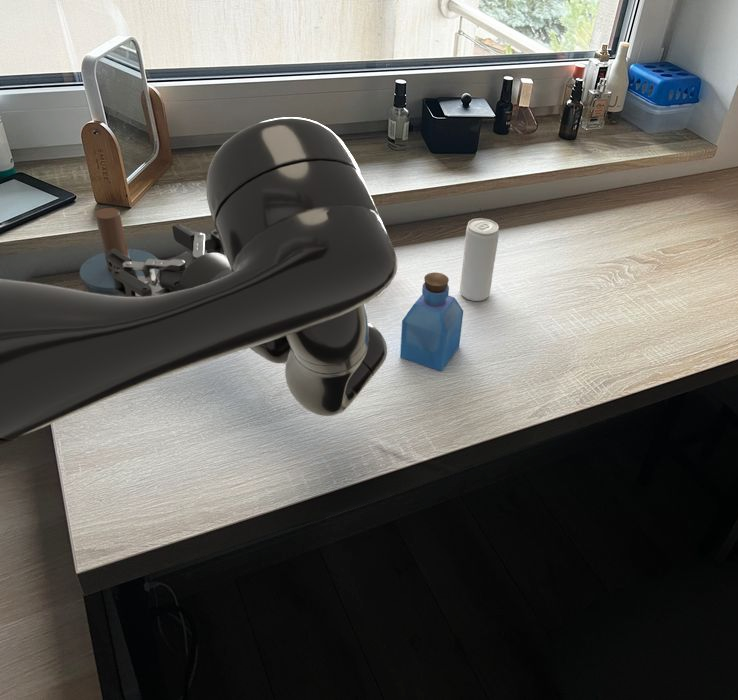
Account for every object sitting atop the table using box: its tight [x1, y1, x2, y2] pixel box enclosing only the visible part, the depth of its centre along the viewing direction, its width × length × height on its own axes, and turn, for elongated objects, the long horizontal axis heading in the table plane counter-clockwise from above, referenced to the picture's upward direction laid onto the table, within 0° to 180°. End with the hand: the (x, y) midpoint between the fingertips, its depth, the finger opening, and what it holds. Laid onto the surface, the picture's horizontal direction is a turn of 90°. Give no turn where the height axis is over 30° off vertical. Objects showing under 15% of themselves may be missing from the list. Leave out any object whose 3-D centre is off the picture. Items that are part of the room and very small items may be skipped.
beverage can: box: [459, 217, 500, 302], centre depth 109 cm, size 5×5×12 cm
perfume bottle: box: [399, 272, 464, 372], centre depth 97 cm, size 6×6×12 cm
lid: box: [79, 207, 160, 291], centre depth 93 cm, size 10×10×9 cm
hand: (144, 243), depth 87 cm, fingers open, 8 cm apart
